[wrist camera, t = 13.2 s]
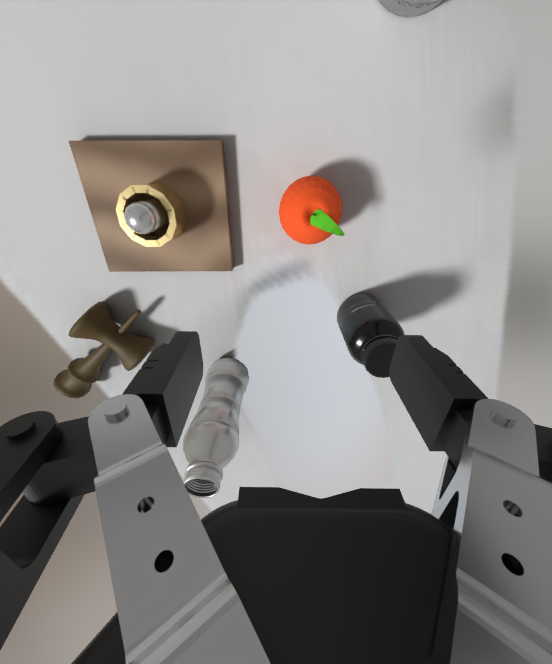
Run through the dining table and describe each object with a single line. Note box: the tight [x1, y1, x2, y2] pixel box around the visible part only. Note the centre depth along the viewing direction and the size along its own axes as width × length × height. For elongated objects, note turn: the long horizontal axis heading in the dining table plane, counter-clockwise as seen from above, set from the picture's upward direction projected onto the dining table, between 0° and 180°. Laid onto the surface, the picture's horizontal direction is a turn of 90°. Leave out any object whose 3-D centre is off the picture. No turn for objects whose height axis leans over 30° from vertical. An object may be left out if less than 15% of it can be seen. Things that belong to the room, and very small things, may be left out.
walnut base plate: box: [69, 140, 234, 271], centre depth 33 cm, size 14×16×2 cm
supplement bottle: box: [337, 294, 405, 378], centre depth 35 cm, size 7×7×12 cm
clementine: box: [279, 176, 344, 244], centre depth 30 cm, size 8×7×7 cm
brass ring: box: [116, 184, 187, 247], centre depth 30 cm, size 6×6×4 cm
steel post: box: [124, 199, 169, 234], centre depth 29 cm, size 3×3×6 cm
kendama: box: [54, 301, 154, 398], centre depth 40 cm, size 6×10×20 cm
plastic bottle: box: [183, 358, 249, 498], centre depth 36 cm, size 6×7×20 cm
